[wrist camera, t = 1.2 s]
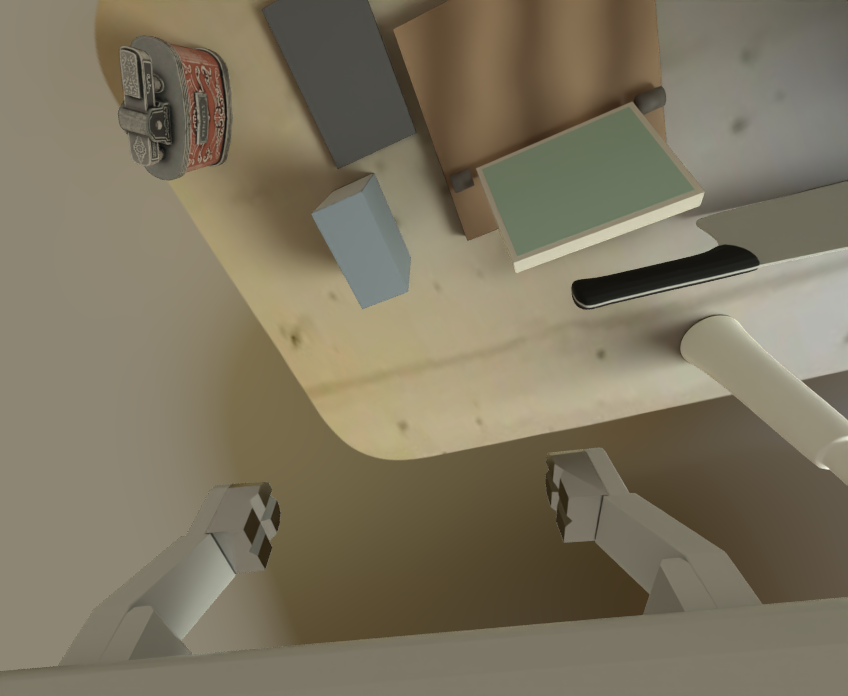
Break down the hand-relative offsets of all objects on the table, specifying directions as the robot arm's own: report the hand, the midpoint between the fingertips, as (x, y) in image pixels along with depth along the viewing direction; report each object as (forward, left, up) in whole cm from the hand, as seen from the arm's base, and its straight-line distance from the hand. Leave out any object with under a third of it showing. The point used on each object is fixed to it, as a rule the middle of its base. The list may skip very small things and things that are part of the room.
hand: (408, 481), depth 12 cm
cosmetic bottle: (-24, +23, -29) cm, 44 cm away
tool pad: (+1, -12, -29) cm, 31 cm away
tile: (-12, -2, -27) cm, 29 cm away
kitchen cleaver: (-26, +9, -29) cm, 40 cm away
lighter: (+12, -14, -29) cm, 35 cm away
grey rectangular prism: (+4, -1, -29) cm, 29 cm away
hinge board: (-12, -5, -29) cm, 32 cm away
